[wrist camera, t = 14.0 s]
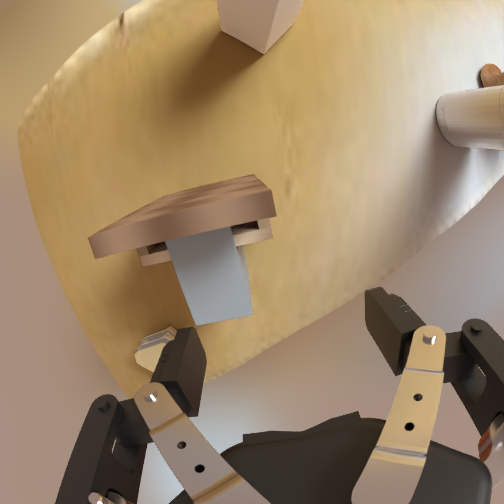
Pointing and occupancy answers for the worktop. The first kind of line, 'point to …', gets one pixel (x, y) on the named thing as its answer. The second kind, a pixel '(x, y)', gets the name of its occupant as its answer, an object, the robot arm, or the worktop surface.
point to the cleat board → (191, 219)
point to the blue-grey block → (212, 275)
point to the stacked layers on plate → (153, 348)
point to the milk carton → (258, 20)
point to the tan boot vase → (491, 76)
